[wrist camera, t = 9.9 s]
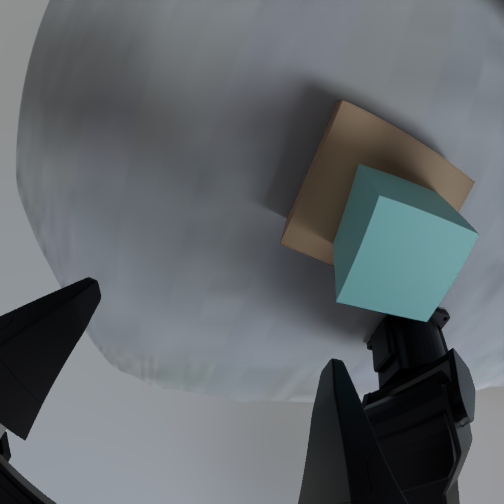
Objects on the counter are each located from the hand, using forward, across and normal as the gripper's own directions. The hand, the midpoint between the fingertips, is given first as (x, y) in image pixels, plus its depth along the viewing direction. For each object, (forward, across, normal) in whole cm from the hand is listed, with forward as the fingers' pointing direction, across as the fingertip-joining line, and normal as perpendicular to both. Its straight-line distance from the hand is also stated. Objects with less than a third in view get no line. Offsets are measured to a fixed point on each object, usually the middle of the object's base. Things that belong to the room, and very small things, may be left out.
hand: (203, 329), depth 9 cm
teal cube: (+8, -7, -3) cm, 11 cm away
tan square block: (+12, -7, -3) cm, 14 cm away
